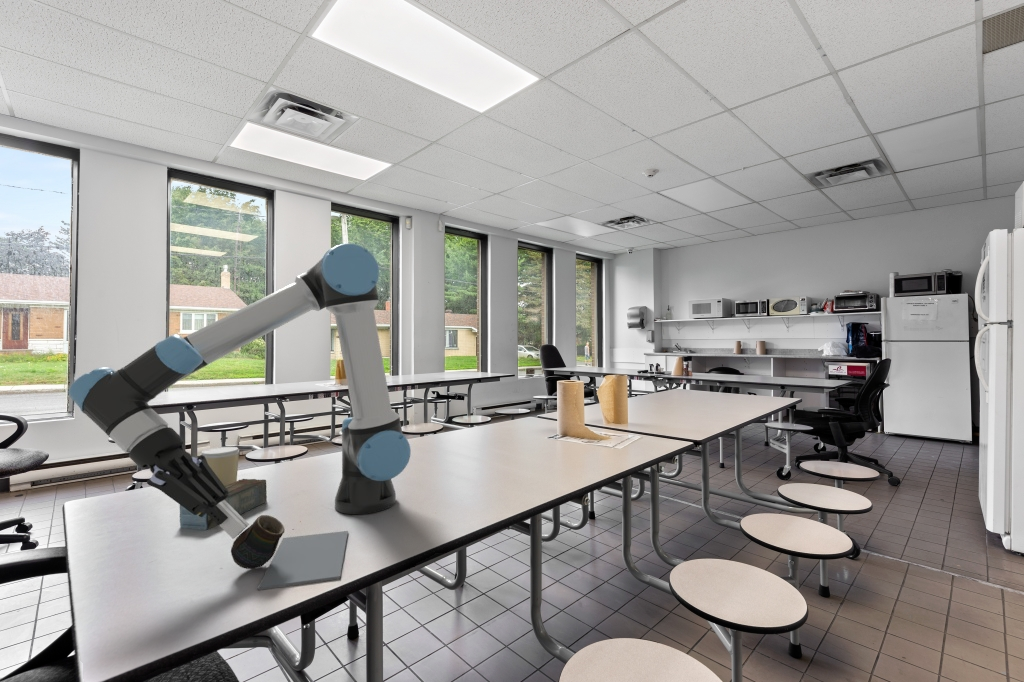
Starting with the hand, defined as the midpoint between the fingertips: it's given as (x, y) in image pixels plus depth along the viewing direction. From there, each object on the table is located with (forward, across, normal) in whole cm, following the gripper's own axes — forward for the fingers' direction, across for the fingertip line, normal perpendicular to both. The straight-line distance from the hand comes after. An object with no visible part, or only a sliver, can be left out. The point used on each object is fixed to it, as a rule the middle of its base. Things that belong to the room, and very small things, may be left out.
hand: (241, 531), depth 83 cm
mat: (+12, -5, +2) cm, 14 cm away
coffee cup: (-16, -47, -27) cm, 56 cm away
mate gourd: (+4, 0, -4) cm, 6 cm away
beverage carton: (-8, -30, -19) cm, 36 cm away
